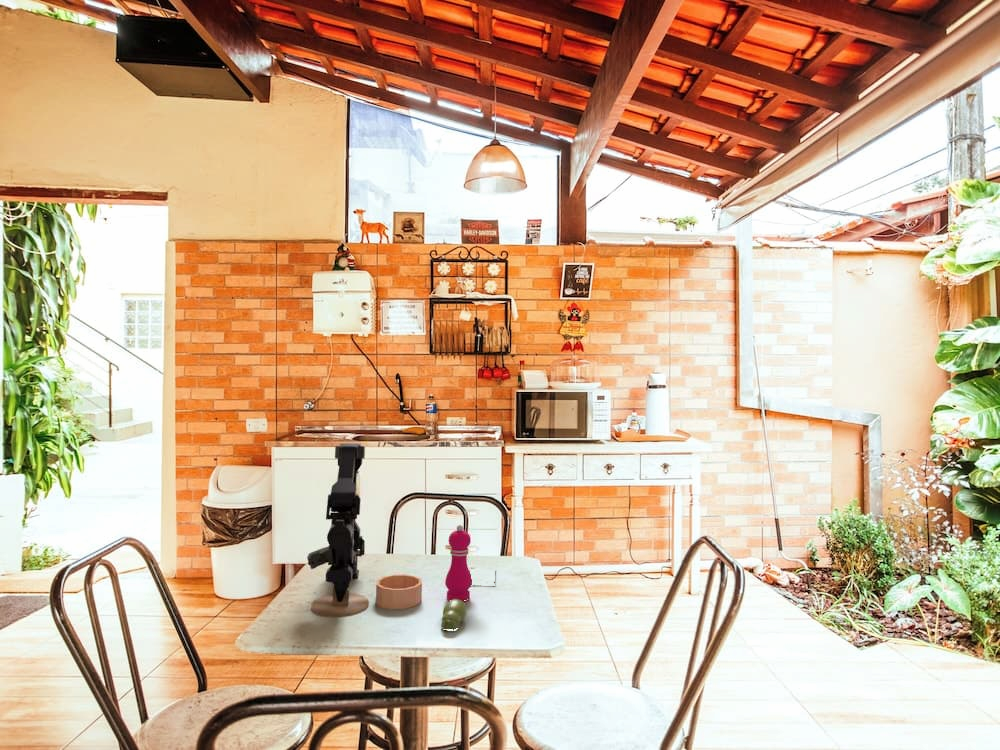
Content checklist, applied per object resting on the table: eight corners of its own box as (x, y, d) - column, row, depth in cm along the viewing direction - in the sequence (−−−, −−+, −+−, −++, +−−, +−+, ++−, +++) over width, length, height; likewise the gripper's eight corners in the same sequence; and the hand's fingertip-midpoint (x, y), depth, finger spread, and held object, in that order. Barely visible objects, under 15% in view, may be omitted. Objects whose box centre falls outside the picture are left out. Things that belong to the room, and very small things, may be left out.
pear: (469, 596, 151) (459, 618, 141) (469, 615, 151) (459, 639, 142) (447, 594, 152) (436, 615, 142) (447, 613, 152) (436, 636, 143)
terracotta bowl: (376, 593, 166) (377, 575, 166) (420, 591, 168) (420, 573, 168) (375, 610, 155) (375, 590, 155) (422, 608, 157) (422, 588, 157)
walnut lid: (313, 597, 162) (314, 578, 162) (368, 595, 166) (369, 577, 165) (309, 619, 148) (309, 599, 148) (368, 616, 151) (369, 596, 151)
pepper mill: (439, 599, 163) (441, 525, 163) (453, 591, 169) (455, 520, 169) (462, 605, 159) (464, 529, 160) (476, 596, 166) (478, 523, 166)
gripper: (314, 529, 165) (313, 586, 165) (304, 548, 146) (303, 613, 146) (356, 528, 167) (355, 585, 167) (352, 547, 148) (350, 611, 148)
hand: (340, 597), depth 157 cm, fingers open, 5 cm apart
